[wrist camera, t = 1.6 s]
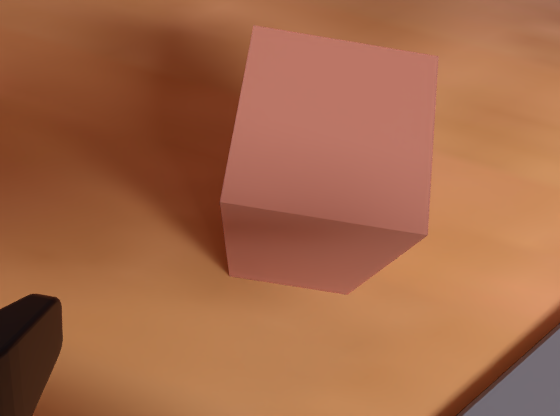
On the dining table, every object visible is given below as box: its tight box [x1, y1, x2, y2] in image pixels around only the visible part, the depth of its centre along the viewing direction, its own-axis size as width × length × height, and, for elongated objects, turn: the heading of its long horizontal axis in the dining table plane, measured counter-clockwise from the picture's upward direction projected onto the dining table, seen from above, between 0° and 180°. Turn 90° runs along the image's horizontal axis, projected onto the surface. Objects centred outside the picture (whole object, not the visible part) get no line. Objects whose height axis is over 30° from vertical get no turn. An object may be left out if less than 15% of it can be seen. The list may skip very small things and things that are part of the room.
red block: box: [220, 25, 438, 295], centre depth 18 cm, size 5×5×10 cm
